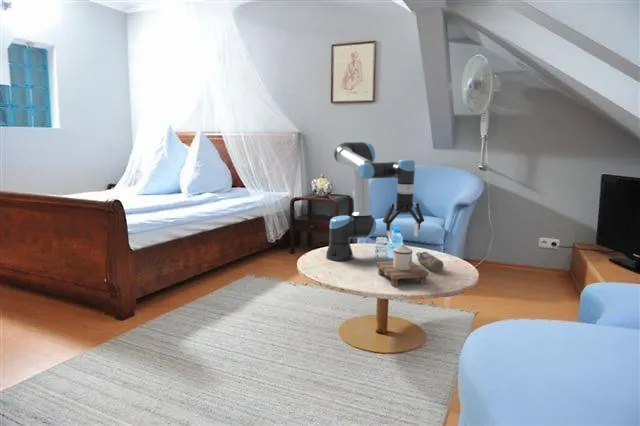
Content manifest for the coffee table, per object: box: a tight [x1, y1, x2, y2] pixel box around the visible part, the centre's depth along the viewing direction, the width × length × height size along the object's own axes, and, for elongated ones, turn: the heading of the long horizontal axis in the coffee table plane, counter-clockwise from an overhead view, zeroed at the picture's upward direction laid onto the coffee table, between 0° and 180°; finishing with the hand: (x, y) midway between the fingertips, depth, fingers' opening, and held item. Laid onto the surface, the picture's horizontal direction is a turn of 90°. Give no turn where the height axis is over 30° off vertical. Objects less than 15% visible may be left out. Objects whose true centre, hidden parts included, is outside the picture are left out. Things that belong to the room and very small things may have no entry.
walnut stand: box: [376, 260, 430, 287], centre depth 209 cm, size 20×18×6 cm
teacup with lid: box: [392, 243, 413, 271], centre depth 207 cm, size 12×9×12 cm
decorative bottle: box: [415, 251, 445, 273], centre depth 231 cm, size 26×8×7 cm, turn 10°
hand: (402, 236), depth 206 cm, fingers open, 13 cm apart
